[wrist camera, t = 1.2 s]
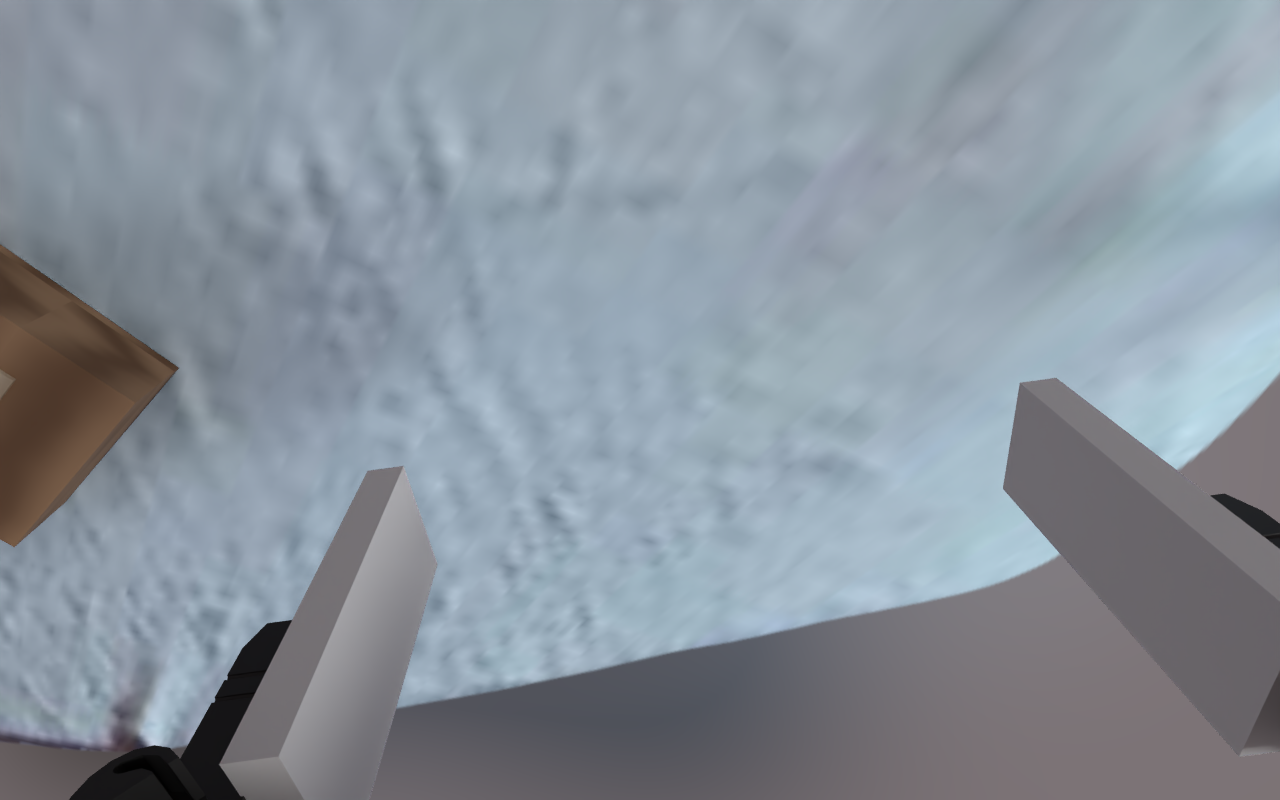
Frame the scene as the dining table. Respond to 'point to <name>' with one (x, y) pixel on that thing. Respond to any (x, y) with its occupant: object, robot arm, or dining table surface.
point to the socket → (60, 393)
